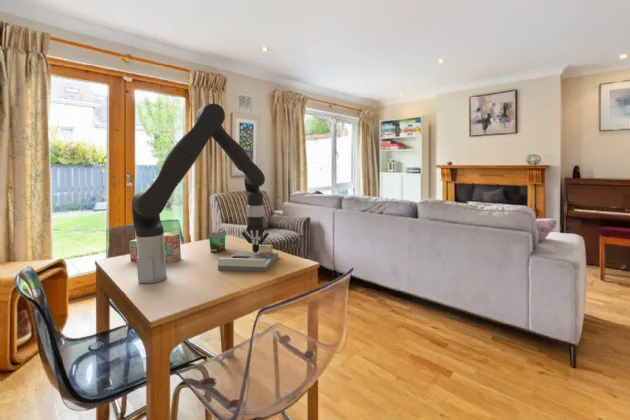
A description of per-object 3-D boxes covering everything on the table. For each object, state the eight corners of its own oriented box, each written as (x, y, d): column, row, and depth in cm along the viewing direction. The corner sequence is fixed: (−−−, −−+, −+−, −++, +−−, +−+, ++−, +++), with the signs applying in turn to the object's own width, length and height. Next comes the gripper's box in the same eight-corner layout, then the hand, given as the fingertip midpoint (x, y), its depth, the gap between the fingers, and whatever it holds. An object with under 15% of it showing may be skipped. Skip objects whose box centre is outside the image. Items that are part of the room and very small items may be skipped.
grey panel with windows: (265, 271, 133) (265, 259, 132) (218, 270, 135) (217, 258, 134) (278, 256, 154) (278, 246, 154) (237, 255, 157) (236, 245, 156)
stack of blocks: (130, 261, 150) (127, 234, 148) (139, 257, 156) (137, 231, 154) (174, 262, 147) (172, 235, 145) (181, 258, 153) (179, 232, 151)
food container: (221, 253, 161) (220, 233, 159) (209, 253, 162) (208, 233, 160) (231, 247, 173) (230, 228, 171) (220, 247, 174) (219, 228, 172)
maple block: (270, 256, 148) (269, 247, 148) (259, 255, 149) (259, 247, 148) (272, 253, 153) (272, 244, 153) (262, 253, 154) (262, 244, 153)
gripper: (238, 215, 147) (239, 253, 149) (267, 216, 145) (268, 254, 147) (243, 213, 154) (244, 249, 156) (271, 214, 152) (272, 250, 155)
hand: (256, 252), depth 152 cm, fingers closed
